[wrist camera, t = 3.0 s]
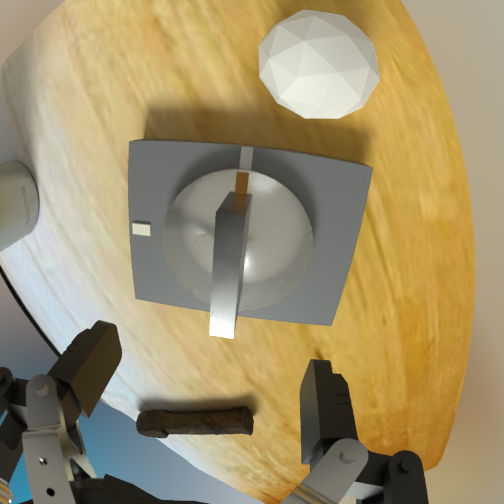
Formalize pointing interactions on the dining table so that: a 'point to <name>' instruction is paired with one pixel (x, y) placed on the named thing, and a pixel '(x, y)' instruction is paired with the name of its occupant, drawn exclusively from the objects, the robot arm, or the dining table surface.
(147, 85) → the dining table surface
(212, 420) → the hand tool
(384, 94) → the dining table surface
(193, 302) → the dial panel
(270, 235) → the dial knob
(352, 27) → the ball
